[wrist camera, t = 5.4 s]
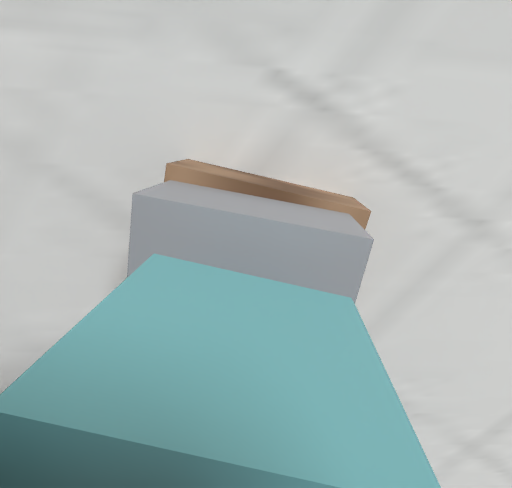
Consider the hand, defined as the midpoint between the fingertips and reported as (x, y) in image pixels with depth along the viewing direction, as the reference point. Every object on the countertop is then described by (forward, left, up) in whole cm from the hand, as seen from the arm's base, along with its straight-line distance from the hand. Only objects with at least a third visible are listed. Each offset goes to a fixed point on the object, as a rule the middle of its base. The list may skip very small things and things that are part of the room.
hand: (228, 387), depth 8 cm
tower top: (0, 0, -6) cm, 6 cm away
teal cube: (0, 0, -1) cm, 1 cm away
